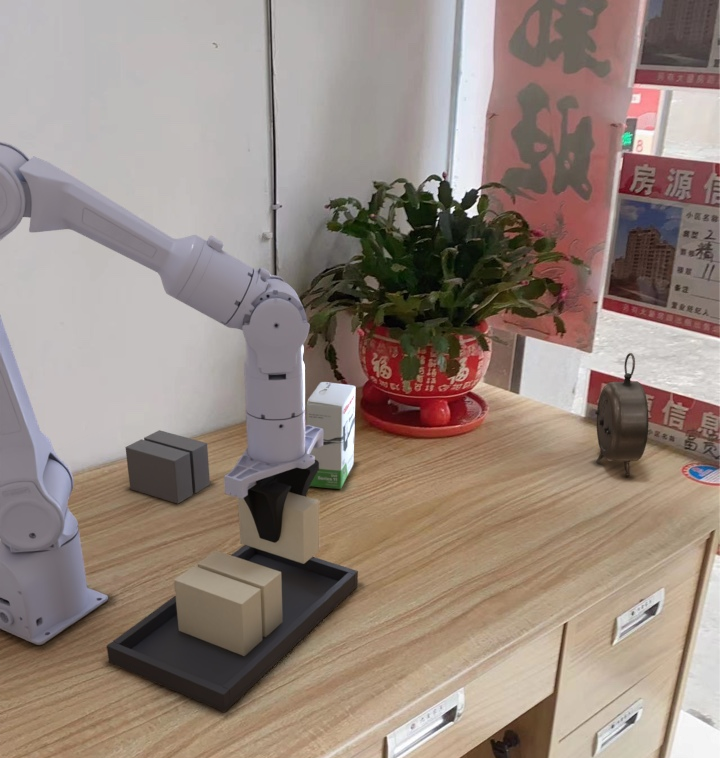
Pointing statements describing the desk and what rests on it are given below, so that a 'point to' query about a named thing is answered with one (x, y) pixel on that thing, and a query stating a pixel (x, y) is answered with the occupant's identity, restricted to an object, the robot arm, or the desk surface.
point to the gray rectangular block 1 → (159, 471)
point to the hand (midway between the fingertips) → (278, 531)
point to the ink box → (333, 432)
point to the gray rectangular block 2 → (196, 455)
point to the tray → (216, 664)
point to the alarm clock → (622, 420)
